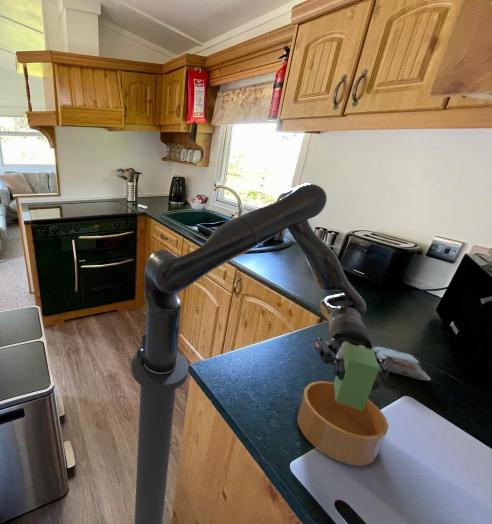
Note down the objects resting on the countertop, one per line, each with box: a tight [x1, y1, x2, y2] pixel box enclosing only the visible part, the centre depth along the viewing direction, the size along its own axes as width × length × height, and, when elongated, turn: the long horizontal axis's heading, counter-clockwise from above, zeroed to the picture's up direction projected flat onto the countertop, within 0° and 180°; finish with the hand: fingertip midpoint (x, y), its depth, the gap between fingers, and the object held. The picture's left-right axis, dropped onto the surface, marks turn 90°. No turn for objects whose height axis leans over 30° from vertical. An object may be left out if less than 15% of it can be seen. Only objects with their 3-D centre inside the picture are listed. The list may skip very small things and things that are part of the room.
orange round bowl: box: [296, 380, 389, 467], centre depth 60 cm, size 14×14×7 cm
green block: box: [333, 343, 379, 411], centre depth 56 cm, size 4×6×10 cm
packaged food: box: [372, 346, 432, 382], centre depth 80 cm, size 9×12×5 cm
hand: (357, 380), depth 53 cm, fingers closed on green block, 4 cm apart
